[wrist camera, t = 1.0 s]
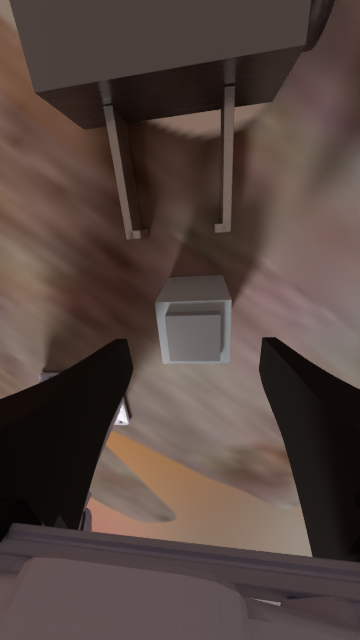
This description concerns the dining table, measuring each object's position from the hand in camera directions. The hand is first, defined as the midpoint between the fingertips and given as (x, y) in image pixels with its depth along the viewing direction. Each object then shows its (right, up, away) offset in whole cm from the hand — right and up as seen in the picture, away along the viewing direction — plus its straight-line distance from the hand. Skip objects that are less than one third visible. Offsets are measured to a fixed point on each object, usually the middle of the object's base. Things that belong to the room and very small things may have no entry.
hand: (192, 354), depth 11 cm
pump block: (+1, +3, +7) cm, 8 cm away
